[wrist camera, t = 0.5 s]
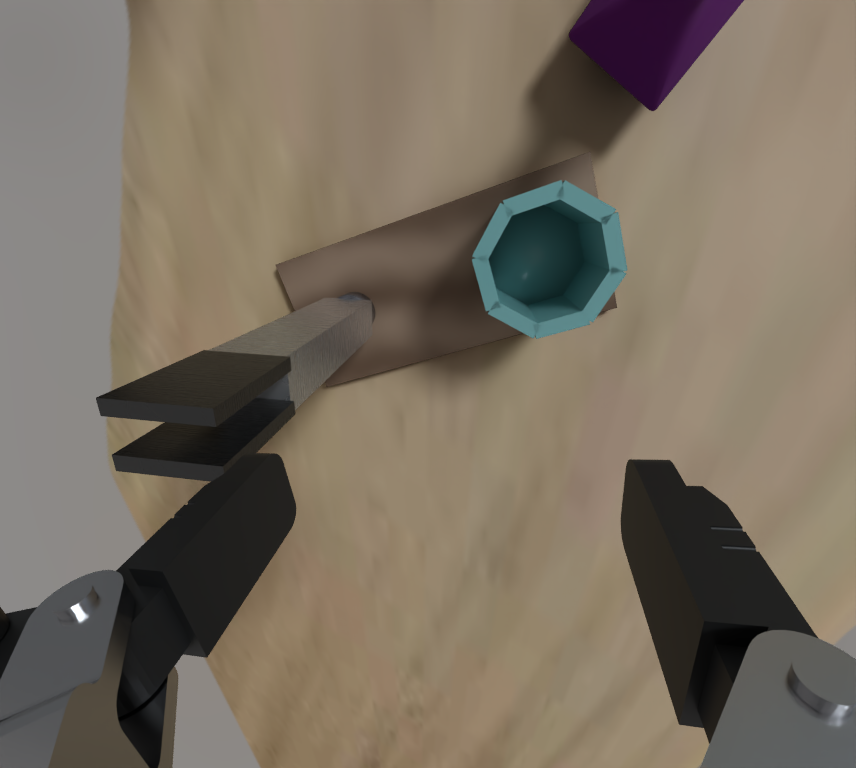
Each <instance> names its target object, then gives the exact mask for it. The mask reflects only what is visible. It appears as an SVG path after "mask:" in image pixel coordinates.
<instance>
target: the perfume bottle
mask: <svg viewBox="0 0 856 768" xmlns="http://www.w3.org/2000/svg"><path fill="white" fill-rule="evenodd" d="M743 1H744V0H591V1H590V3H589V4H588V6H587V7H586V9H585V10H584V12H583V13H582V15H581V16H580V18H579V19H578V21H577V22H576V23H575V25H574V26H573V28H572V29H571V31H570V33H569V38H570V40H571V41H572V42H573V43H574V44H576V45H577V46H578V47H579V48H580V49H581V50H582V51H583V52H585V53H586V54H587V55H588V56H589V57H590V58H591V59H592V60H594V61H595V62H596V63H597V64H598V65H599V66H600V67H601V68H603V69H604V70H605V71H606V72H607V73H608V74H609V75H610V76H612V77H613V78H614V79H615V80H616V81H617V82H618V83H619V84H621V85H622V86H623V87H624V88H625V89H626V90H627V91H628V92H630V93H631V94H632V95H633V96H634V97H635V98H636V99H637V100H639V101H640V102H641V103H642V104H643V105H644V106H645V107H646V108H648V109H649V110H651V111H654V110H656V109H657V108H658V106H659V105H660V104H661V103H662V101H663V100H664V99H665V98H666V97H667V95H668V94H669V93H670V92H671V90H672V89H673V88H674V87H675V85H676V84H677V83H678V82H679V80H680V79H681V78H682V77H683V75H684V74H685V73H686V72H687V70H688V69H689V68H690V67H691V65H692V64H693V63H694V62H695V60H696V59H697V58H698V57H699V56H700V54H701V53H702V52H703V51H704V49H705V48H706V47H707V46H708V44H709V43H710V42H711V41H712V39H713V38H714V37H715V36H716V34H717V33H718V32H719V31H720V29H721V28H722V27H723V26H724V24H725V23H726V22H727V21H728V19H729V18H730V17H731V16H732V15H733V13H734V12H735V11H736V10H737V8H738V7H739V6H740V5H741V3H742V2H743Z"/></svg>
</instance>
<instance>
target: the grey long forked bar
mask: <svg viewBox="0 0 856 768" xmlns="http://www.w3.org/2000/svg"><path fill="white" fill-rule="evenodd" d="M374 320H375V307H374V305H373V303H372V300H370V299H369V298H368V297H367V296H366V295H364V294H362V293H359V292H349V293H347V294H345V295H343V296H340V297H338V298H324V299H321V300H319V301H317V302H315V303H312V304H310V305H308V306H306V307H304V308H301V309H299V310H297V311H295V312H292V313H290V314H288V315H286V316H283V317H281V318H279V319H277V320H275V321H272V322H270V323H268V324H266V325H263V326H261V327H259V328H257V329H255V330H252V331H250V332H248V333H246V334H243V335H241V336H239V337H237V338H234V339H232V340H230V341H228V342H226V343H223V344H221V345H219V346H217V347H214V348H212V349H210V350H203V351H201V352H199V353H196V354H194V355H192V356H190V357H187V358H185V359H183V360H181V361H178V362H176V363H174V364H171V365H169V366H167V367H165V368H162V369H160V370H158V371H156V372H153V373H151V374H149V375H147V376H144V377H142V378H140V379H138V380H135V381H133V382H131V383H128V384H126V385H124V386H122V387H119V388H117V389H115V390H113V391H110V392H108V393H106V394H104V395H101V396H99V397H97V398H96V400H97V404H98V407H99V411H100V415H101V416H107V417H117V418H128V419H138V420H149V421H159V422H164V423H163V424H161V425H160V426H158V427H156V428H155V429H153V430H151V431H150V432H148V433H147V434H145V435H143V436H142V437H140V438H138V439H137V440H135V441H133V442H132V443H130V444H129V445H127V446H125V447H124V448H122V449H120V450H119V451H117V452H116V453H114V454H112V457H113V461H114V465H115V468H116V471H122V472H131V473H140V474H149V475H158V476H167V477H176V478H185V479H194V480H203V481H213V480H215V479H216V478H218V477H220V476H221V475H223V474H224V473H225V472H226V471H227V470H228V469H229V468H230V467H232V466H233V465H234V464H235V463H236V462H237V461H238V460H239V459H240V458H241V457H242V456H243V455H245V454H247V453H256V452H257V451H258V450H259V449H260V448H262V447H263V446H264V445H265V444H266V443H267V442H268V441H269V440H270V439H271V438H272V437H273V436H274V435H275V434H276V433H277V432H278V431H279V430H280V429H281V428H282V427H283V426H284V425H285V424H286V423H287V422H288V421H289V420H290V419H291V418H292V417H293V416H294V415H295V410H296V409H297V408H298V407H299V406H300V405H301V404H302V403H303V402H304V401H305V400H306V399H307V398H308V397H309V396H310V395H311V394H312V393H313V392H314V391H315V390H316V389H317V388H318V387H319V386H320V385H322V384H323V383H324V382H325V381H326V380H327V379H328V378H329V377H330V376H331V375H332V374H333V373H334V372H335V371H336V370H337V369H338V368H339V367H340V366H341V365H342V364H343V363H344V362H345V361H346V360H347V359H348V358H349V357H350V356H351V355H352V354H353V353H354V352H356V351H357V350H358V349H359V348H360V347H361V346H362V345H363V344H364V343H365V342H366V341H367V340H368V339H369V338H370V337H371V336H372V324H373V322H374Z"/></svg>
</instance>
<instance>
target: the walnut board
mask: <svg viewBox="0 0 856 768" xmlns="http://www.w3.org/2000/svg"><path fill="white" fill-rule="evenodd" d="M560 180H562V182H563V181H565V180H566V181H567V182H569V183H571V184H573V185H574V186H576V187H578V188H580V189H581V190H583V191H585V192H587V193H588V194H590V195H592V196H594V197H595V198H597V199H598V195H597V189H596V183H595V177H594V171H593V166H592V160H591V154H590V152H588V153H585V154H583V155H580V156H577V157H574V158H571V159H569V160H566V161H563V162H560V163H558V164H555V165H552V166H549V167H546V168H544V169H541V170H538V171H535V172H532V173H530V174H527V175H524V176H521V177H519V178H516V179H513V180H510V181H507V182H505V183H502V184H499V185H496V186H494V187H491V188H488V189H485V190H482V191H480V192H477V193H474V194H471V195H469V196H466V197H463V198H460V199H457V200H455V201H452V202H449V203H446V204H444V205H441V206H438V207H435V208H432V209H430V210H427V211H424V212H421V213H418V214H416V215H413V216H410V217H407V218H405V219H402V220H399V221H396V222H393V223H391V224H388V225H385V226H382V227H380V228H377V229H374V230H371V231H368V232H366V233H363V234H360V235H357V236H355V237H352V238H349V239H346V240H343V241H341V242H338V243H335V244H332V245H330V246H327V247H324V248H321V249H318V250H316V251H313V252H310V253H307V254H304V255H302V256H299V257H296V258H293V259H291V260H288V261H285V262H282V263H279V264H277V265H276V268H277V270H278V272H279V275H280V277H281V279H282V282H283V284H284V286H285V289H286V291H287V294H288V296H289V298H290V301H291V303H292V305H293V308H294V310H295V311H297V310H299V309H301V308H304V307H306V306H308V305H310V304H312V303H315V302H317V301H319V300H321V299H324V298H338V297H340V296H343V295H345V294H347V293H349V292H359V293H362V294H364V295H366V296H367V297H368V298H369V299H370V300H372V303H373V305H374V307H375V320H374V322H373V324H372V336H371V337H370V338H369V339H368V340H367V341H366V342H365V343H364V344H363V345H362V346H361V347H360V348H359V349H358V350H357V351H356V352H354V353H353V354H352V355H351V356H350V357H349V358H348V359H347V360H346V361H345V362H344V363H343V364H342V365H341V366H340V367H339V368H338V369H337V370H336V371H335V372H334V373H333V374H332V375H331V376H330V377H329V378H328V379H327V380H326V381H325V383H326V386H327V387H329V386H332V385H336V384H340V383H343V382H347V381H351V380H354V379H358V378H362V377H365V376H369V375H373V374H376V373H380V372H384V371H387V370H391V369H394V368H398V367H402V366H405V365H409V364H413V363H416V362H420V361H424V360H427V359H431V358H435V357H438V356H442V355H446V354H449V353H453V352H457V351H460V350H464V349H468V348H471V347H475V346H479V345H482V344H486V343H490V342H493V341H497V340H501V339H504V338H508V337H511V336H515V335H519V334H522V332H521V331H519V330H517V329H515V328H513V327H511V326H509V325H508V324H506V323H504V322H502V321H500V320H498V319H497V318H495V317H493V316H491V315H489V314H488V311H486V310H485V306H484V302H483V299H482V295H481V291H480V288H479V284H478V280H477V277H476V273H475V270H474V266H473V262H472V257H473V256H472V255H473V253H474V250H475V248H476V246H477V244H478V243H479V241H480V239H481V237H482V235H483V233H484V231H485V229H486V227H487V226H488V224H489V222H490V220H491V218H492V216H493V214H494V212H495V210H496V209H497V207H498V205H499V204H500V203H502V201H503V200H506V199H508V198H511V197H514V196H517V195H520V194H523V193H526V192H528V191H531V190H534V189H537V188H540V187H543V186H546V185H548V184H551V183H554V182H557V181H560ZM614 308H617V304H616V299H615V293H614V292H613V294H612V295H611V297H610V298H609V300H608V301H607V303H606V304H605V305H604V307H603V308H602V310H601V311H600V312H603V311H607V310H610V309H614Z"/></svg>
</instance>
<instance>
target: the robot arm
mask: <svg viewBox="0 0 856 768" xmlns="http://www.w3.org/2000/svg"><path fill="white" fill-rule="evenodd" d="M295 516H296V503H295V499H294V496H293V493H292V490H291V486H290V483H289V480H288V476H287V473H286V470H285V467H284V463H283V461H282V459H281V457H280V456H279V455H278V454H266V453H247V454H245V455H243V456H242V457H241V458H240V459H239V460H238V461H237V462H236V463H235V464H234V465H233V466H232V467H230V468H229V469H228V470H227V471H226V472H225V473H224V474H223V475H221V476H220V477H218V478H216V479H215V480H213V481H212V482H210V483H208V484H207V485H205V486H204V487H203V488H202V489H201V490H200V491H199V492H198V493H197V494H196V495H194V496H193V497H192V498H191V499H190V500H189V501H188V505H184V506H183V507H182V508H181V509H180V510H179V511H178V512H177V513H176V514H175V516H174V518H171V519H170V520H168V521H167V522H166V523H165V524H164V525H163V526H162V527H161V528H160V529H159V530H158V531H157V532H156V533H155V534H154V535H153V536H152V537H151V538H150V539H149V540H148V541H147V542H146V543H145V544H144V545H142V546H141V548H139V549H138V550H137V551H136V552H135V553H134V554H133V555H132V556H131V557H130V558H129V559H128V560H127V561H126V562H125V563H124V564H123V565H122V566H121V567H120V568H119V569H118V570H116V571H113V570H103V571H98V572H93V573H90V574H88V575H85V576H82V577H80V578H78V579H76V580H74V581H72V582H70V583H68V584H66V585H65V586H63V587H61V588H60V589H58V590H57V591H55V592H54V593H53V594H52V595H50V596H49V597H48V598H47V599H45V600H44V601H43V602H42V603H41V604H40V605H39V606H38V607H36V608H31V609H26V610H21V611H17V612H12V613H7V614H5V613H4V611H3V610H2V609H1V607H0V768H172V764H173V749H174V734H175V720H176V706H177V691H178V673H177V670H176V668H175V667H174V666H175V664H176V663H177V662H178V660H179V659H180V657H181V656H182V655H183V654H186V655H192V656H199V657H208V655H209V654H210V652H211V651H212V649H213V648H214V646H215V645H216V643H217V642H218V640H219V638H220V637H221V635H222V634H223V632H224V631H225V629H226V628H227V626H228V625H229V623H230V622H231V620H232V619H233V617H234V615H235V614H236V612H237V611H238V609H239V608H240V606H241V605H242V603H243V602H244V600H245V599H246V597H247V596H248V594H249V592H250V591H251V589H252V588H253V586H254V585H255V583H256V582H257V580H258V579H259V577H260V576H261V574H262V573H263V571H264V570H265V568H266V566H267V565H268V563H269V562H270V560H271V559H272V557H273V556H274V554H275V553H276V551H277V550H278V548H279V547H280V545H281V543H282V542H283V540H284V539H285V537H286V536H287V534H288V533H289V531H290V530H291V528H292V526H293V524H294V520H295ZM621 534H622V541H623V545H624V549H625V553H626V556H627V559H628V562H629V565H630V569H631V572H632V575H633V578H634V581H635V585H636V588H637V591H638V594H639V597H640V601H641V604H642V607H643V610H644V613H645V617H646V620H647V623H648V626H649V630H650V633H651V636H652V639H653V642H654V646H655V649H656V652H657V655H658V658H659V662H660V665H661V668H662V671H663V674H664V678H665V681H666V684H667V687H668V690H669V694H670V697H671V700H672V703H673V707H674V710H675V713H676V716H677V719H678V723H679V725H686V726H693V727H701V728H704V730H705V732H706V735H707V738H708V741H709V744H710V745H709V747H708V750H707V752H706V755H705V757H704V760H703V762H702V765H701V767H700V768H856V659H855V658H853V657H851V656H850V655H849V654H847V653H845V652H844V651H842V650H841V649H839V648H837V647H835V646H833V645H832V644H830V643H827V642H825V641H823V640H821V639H819V638H818V637H817V636H816V635H815V633H814V632H813V630H812V629H811V627H810V626H809V624H808V623H807V622H806V620H805V619H804V617H803V616H802V614H801V613H800V611H799V610H798V608H797V607H796V605H795V604H794V602H793V601H792V600H791V598H790V597H789V595H788V594H787V592H786V591H785V589H784V588H783V586H782V585H781V583H780V582H779V580H778V579H777V578H776V576H775V575H774V573H773V572H772V570H771V569H770V567H769V566H768V564H767V563H766V561H765V560H764V558H763V557H762V555H761V554H760V553H759V552H756V549H755V545H754V544H753V542H752V541H751V539H750V538H749V536H748V535H747V533H746V532H743V530H742V526H741V525H740V523H739V522H738V520H737V519H736V517H735V516H734V514H733V513H732V511H731V510H730V508H729V507H728V506H727V505H726V504H725V503H724V502H722V501H721V500H720V499H719V498H717V497H716V496H715V495H713V494H712V493H711V492H709V491H708V490H707V489H705V488H704V487H703V486H686V485H685V483H684V481H683V480H682V478H681V476H680V474H679V473H678V471H677V469H676V468H675V466H674V464H673V463H672V462H671V461H670V460H628V462H627V466H626V473H625V482H624V492H623V502H622V511H621Z"/></svg>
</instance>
